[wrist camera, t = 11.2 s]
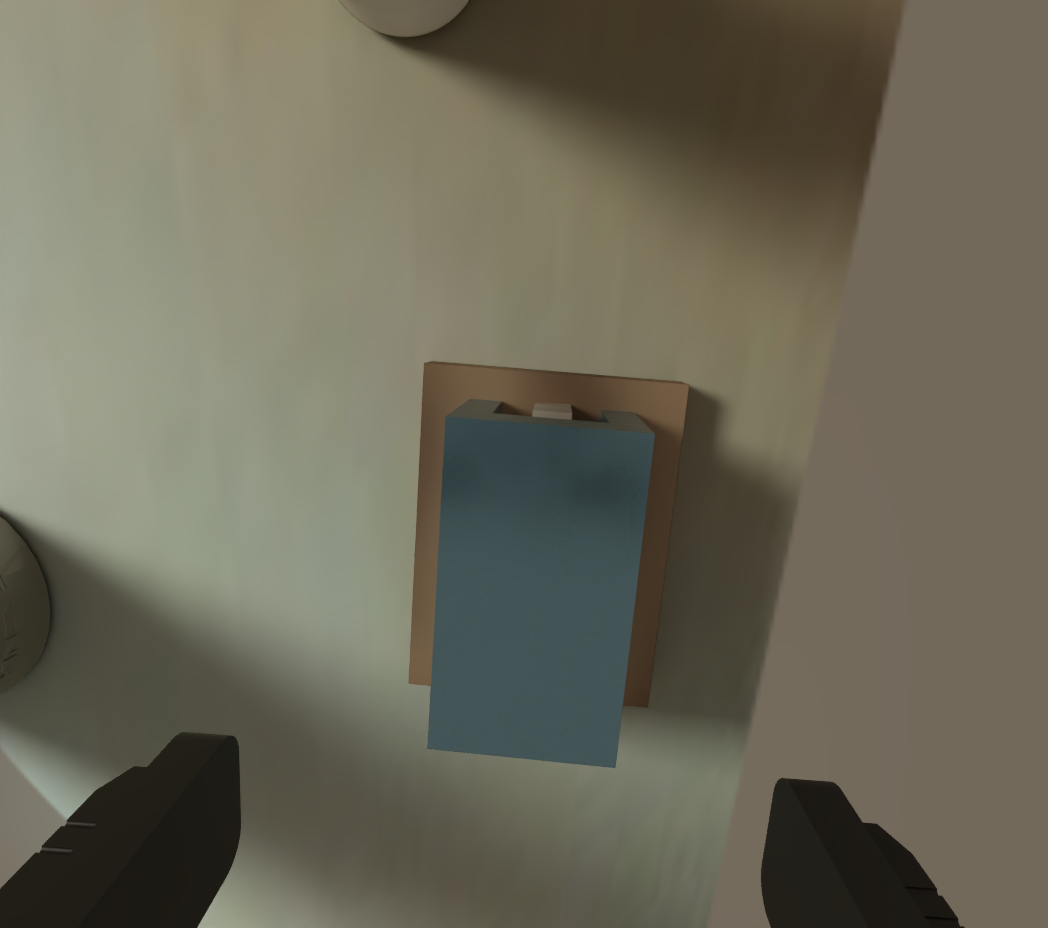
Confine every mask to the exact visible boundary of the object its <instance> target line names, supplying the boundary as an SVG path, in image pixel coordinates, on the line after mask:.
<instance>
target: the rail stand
mask: <svg viewBox="0 0 1048 928" xmlns="http://www.w3.org/2000/svg"><path fill="white" fill-rule="evenodd" d="M688 390H689V385H688V384H686V383H683V382H677V381H665V380H653V379H641V378H629V377H617V376H605V375H592V374H580V373H568V372H556V371H544V370H532V369H520V368H508V367H495V366H483V365H471V364H459V363H447V362H435V361H432V362H427V363H424V375H423V396H422V417H421V438H420V459H419V480H418V500H417V521H416V542H415V563H414V584H413V605H412V625H411V646H410V667H409V684H418V685H428V686H431V675H432V657H433V638H434V620H435V601H436V583H437V564H438V546H439V527H440V508H441V490H442V471H443V453H444V434H445V416H447V415H448V414H449V413H451V412H452V411H454V410H455V409H456V408H458V407H459V406H461V405H462V404H463V403H465V402H466V401H468V400H469V399H481V400H493V401H502V410H501V414H508V415H520V416H532V417H544V418H556V419H568V420H580V421H592V422H600V417H601V409H602V410H614V411H626V412H634V413H635V414H636V415H637V416H638V417H639V418H640V419H641V420H642V421H643V422H644V423H645V424H646V425H647V426H648V427H649V428H650V429H651V430H652V431H653V432H654V433H655V438H654V446H653V455H652V463H651V472H650V480H649V488H648V497H647V505H646V514H645V522H644V531H643V539H642V547H641V556H640V564H639V573H638V581H637V590H636V598H635V607H634V615H633V623H632V632H631V640H630V649H629V657H628V666H627V674H626V682H625V691H624V699H623V705H628V706H638V707H648V702H649V694H650V686H651V679H652V671H653V663H654V655H655V647H656V640H657V632H658V624H659V616H660V608H661V601H662V593H663V585H664V577H665V570H666V562H667V554H668V546H669V538H670V531H671V523H672V515H673V507H674V499H675V492H676V484H677V476H678V468H679V461H680V453H681V445H682V437H683V429H684V422H685V414H686V406H687V398H688Z"/></svg>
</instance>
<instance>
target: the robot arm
mask: <svg viewBox="0 0 1048 928" xmlns="http://www.w3.org/2000/svg"><path fill="white" fill-rule="evenodd" d="M49 629H50V602H49V597H48V591H47V585H46V582H45V580H44V577H43V575H42V572H41V570H40V567H39V565H38V562H37V560H36V559H35V557H34V556H33V554H32V552H31V551H30V549H29V548H28V546H27V545H26V543H25V541H24V540H23V539H22V538H21V537H20V536H19V535H18V534H17V532H16V531H15V530H14V529H13V528H12V527H11V526H10V525H9V524H8V523H7V522H6V521H5V520H4V519H2V518H1V517H0V694H1V693H2V692H4V691H5V690H7V689H8V688H10V687H11V686H13V685H15V684H16V683H18V682H19V681H20V680H21V679H22V678H23V677H24V676H25V675H26V674H27V673H28V672H29V671H30V670H31V669H32V668H33V667H34V666H35V664H36V662H37V660H38V659H39V657H40V655H41V653H42V652H43V650H44V647H45V643H46V640H47V636H48V633H49ZM240 831H241V808H240V771H239V746H238V742H237V739H236V738H235V737H234V736H229V735H215V734H202V733H188V732H182V733H179V734H178V735H176V736H175V737H174V738H173V739H172V740H171V742H170V743H169V744H168V745H167V746H166V747H165V748H164V749H163V750H162V751H161V753H160V754H159V755H158V756H157V757H156V758H155V759H154V760H153V761H152V763H151V764H150V765H149V766H148V767H136V766H134V767H133V768H131V769H129V770H128V771H126V772H125V773H123V774H121V775H120V776H118V777H116V778H115V779H113V780H112V781H110V782H108V783H107V784H105V785H104V786H102V787H100V788H99V789H97V790H96V791H95V792H94V793H93V794H92V795H91V796H90V797H89V798H88V799H87V800H86V801H85V802H84V803H83V804H82V805H81V806H80V807H79V808H78V809H77V810H76V811H75V812H74V813H73V814H72V815H71V816H70V817H69V819H68V820H67V823H66V825H65V826H61V827H60V828H59V829H58V830H57V831H56V832H55V833H54V834H53V835H52V836H51V837H50V838H49V839H48V840H47V841H46V842H45V843H44V845H42V849H41V851H40V853H35V854H34V855H33V856H32V857H31V858H30V859H29V860H28V861H27V862H26V863H25V864H24V865H23V866H22V867H21V868H20V869H19V870H18V871H17V872H16V873H15V874H14V875H13V876H12V877H11V878H10V879H9V880H8V881H7V882H6V883H5V884H4V886H3V887H2V888H1V889H0V928H197V927H198V925H199V923H200V922H201V920H202V918H203V917H204V915H205V913H206V911H207V910H208V908H209V906H210V904H211V903H212V901H213V899H214V898H215V896H216V894H217V892H218V891H219V889H220V887H221V885H222V884H223V882H224V880H225V878H226V877H227V875H228V873H229V871H230V869H231V866H232V864H233V861H234V858H235V855H236V852H237V848H238V843H239V838H240ZM761 887H762V896H763V901H764V907H765V911H766V915H767V918H768V921H769V923H770V926H771V928H964V927H963V926H960V925H959V923H958V918H957V916H956V915H955V914H954V912H953V911H952V909H951V908H950V906H949V905H948V904H947V902H946V901H945V899H944V898H943V897H942V896H938V894H937V888H936V887H935V885H934V884H933V882H932V881H931V880H930V879H929V877H928V876H927V874H926V873H925V871H924V870H923V869H922V867H921V866H920V864H919V863H918V862H917V860H916V859H915V857H914V856H913V854H912V853H911V852H909V851H908V850H907V849H906V848H905V847H903V846H902V845H901V844H900V843H899V842H898V841H896V840H895V839H894V838H893V837H892V836H891V835H889V834H888V833H887V832H886V831H885V830H884V829H882V828H881V827H880V826H879V825H878V824H872V823H863V822H862V821H861V819H860V818H859V817H858V815H857V813H856V812H855V810H854V809H853V807H852V806H851V804H850V803H849V801H848V800H847V798H846V796H845V795H844V793H843V792H842V790H841V789H840V788H839V786H838V785H836V784H835V783H833V782H826V781H813V780H799V779H785V778H781V779H779V780H778V781H777V783H776V785H775V788H774V792H773V799H772V804H771V811H770V817H769V823H768V829H767V835H766V842H765V848H764V854H763V860H762V868H761Z"/></svg>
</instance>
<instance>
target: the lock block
mask: <svg viewBox="0 0 1048 928" xmlns="http://www.w3.org/2000/svg"><path fill="white" fill-rule="evenodd" d="M501 410H502V401H493V400H481V399H469V400H468V401H466V402H465V403H463V404H462V405H461V406H459V407H458V408H456V409H455V410H454V411H452V412H451V413H449V414H448V415H447V416H445V434H444V453H443V471H442V490H441V508H440V527H439V546H438V564H437V583H436V601H435V620H434V638H433V657H432V675H431V694H430V712H429V731H428V749H435V750H445V751H455V752H464V753H474V754H484V755H494V756H503V757H513V758H523V759H533V760H542V761H552V762H562V763H572V764H581V765H591V766H601V767H611V768H615V767H616V758H617V750H618V741H619V733H620V725H621V716H622V708H623V699H624V691H625V682H626V674H627V666H628V657H629V649H630V640H631V632H632V623H633V615H634V607H635V598H636V590H637V581H638V573H639V564H640V556H641V547H642V539H643V531H644V522H645V514H646V505H647V497H648V488H649V480H650V472H651V463H652V455H653V446H654V438H655V433H654V432H653V431H652V430H651V429H650V428H649V427H648V426H647V425H646V424H645V423H644V422H643V421H642V420H641V419H640V418H639V417H638V416H637V415H636V414H635V413H634V412H626V411H614V410H602V409H601V417H600V422H592V421H580V420H568V419H556V418H544V417H532V416H520V415H508V414H501Z"/></svg>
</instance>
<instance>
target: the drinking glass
mask: <svg viewBox="0 0 1048 928" xmlns="http://www.w3.org/2000/svg"><path fill="white" fill-rule="evenodd" d="M338 1H339V2H340V3H341V4H342V6H343V7H344V8H345V9H346V10H347V11H348V12H349V13H350V14H351V15H352V16H353V17H354V18H356V19H357V20H358V21H359V22H361V23H362V24H364V25H365V26H367V27H369V28H371V29H373V30H375V31H377V32H380V33H382V34H386V35H390V36H396V37H415V36H421V35H424V34H428V33H431V32H433V31H435V30H437V29H439V28H441V27H443V26H444V25H446V24H447V23H449V22H450V21H451V20H452V19H454V18H455V17H456V16H457V15H458V14H459V13H460V12H461V11H462V10H463V8H464V7H465V6H466V5H467V3H468V2H469V0H338Z"/></svg>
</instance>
